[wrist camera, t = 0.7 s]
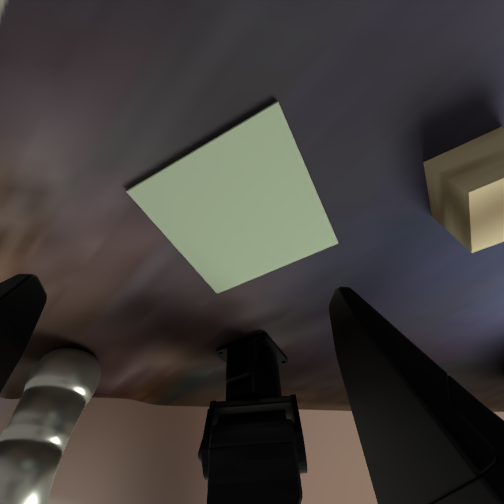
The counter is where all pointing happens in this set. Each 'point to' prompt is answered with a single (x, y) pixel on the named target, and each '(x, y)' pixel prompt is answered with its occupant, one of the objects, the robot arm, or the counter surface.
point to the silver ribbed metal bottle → (44, 424)
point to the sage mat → (239, 203)
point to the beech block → (470, 190)
